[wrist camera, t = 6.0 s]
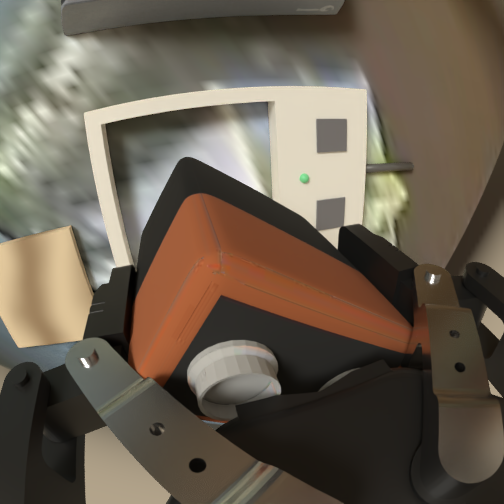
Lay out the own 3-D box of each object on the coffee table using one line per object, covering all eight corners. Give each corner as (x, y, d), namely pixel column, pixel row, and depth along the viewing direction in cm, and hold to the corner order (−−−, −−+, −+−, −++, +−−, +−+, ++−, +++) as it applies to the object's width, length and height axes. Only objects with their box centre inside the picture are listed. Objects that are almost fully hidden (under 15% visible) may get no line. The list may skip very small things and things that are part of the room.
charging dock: (412, 96, 22) (427, 97, 20) (403, 229, 28) (414, 237, 26) (89, 112, 17) (82, 113, 15) (126, 282, 23) (124, 296, 21)
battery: (260, 286, 16) (345, 454, 8) (139, 236, 13) (121, 444, 5) (306, 217, 15) (447, 359, 7) (182, 150, 12) (220, 281, 4)
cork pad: (71, 225, 19) (68, 228, 19) (109, 331, 24) (108, 336, 24) (-25, 250, 17) (-28, 253, 17) (20, 343, 22) (18, 347, 22)
